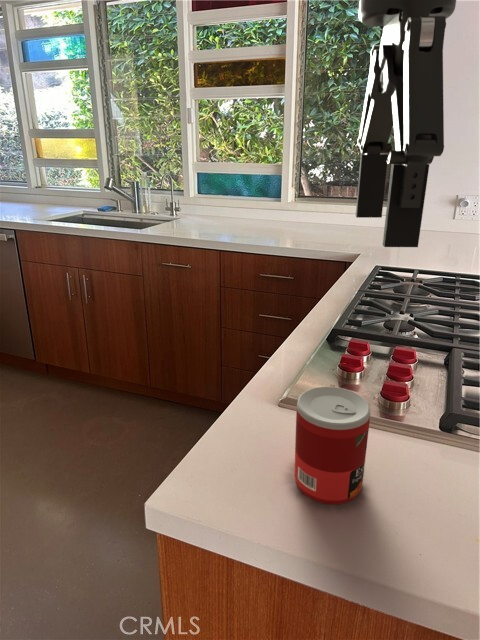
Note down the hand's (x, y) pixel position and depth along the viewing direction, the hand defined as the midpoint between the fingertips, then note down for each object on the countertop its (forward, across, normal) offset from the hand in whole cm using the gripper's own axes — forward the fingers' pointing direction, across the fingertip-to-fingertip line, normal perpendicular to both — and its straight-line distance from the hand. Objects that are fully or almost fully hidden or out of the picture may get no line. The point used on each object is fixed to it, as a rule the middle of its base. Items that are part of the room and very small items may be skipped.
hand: (382, 230), depth 45 cm
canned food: (+30, +2, -4) cm, 30 cm away
